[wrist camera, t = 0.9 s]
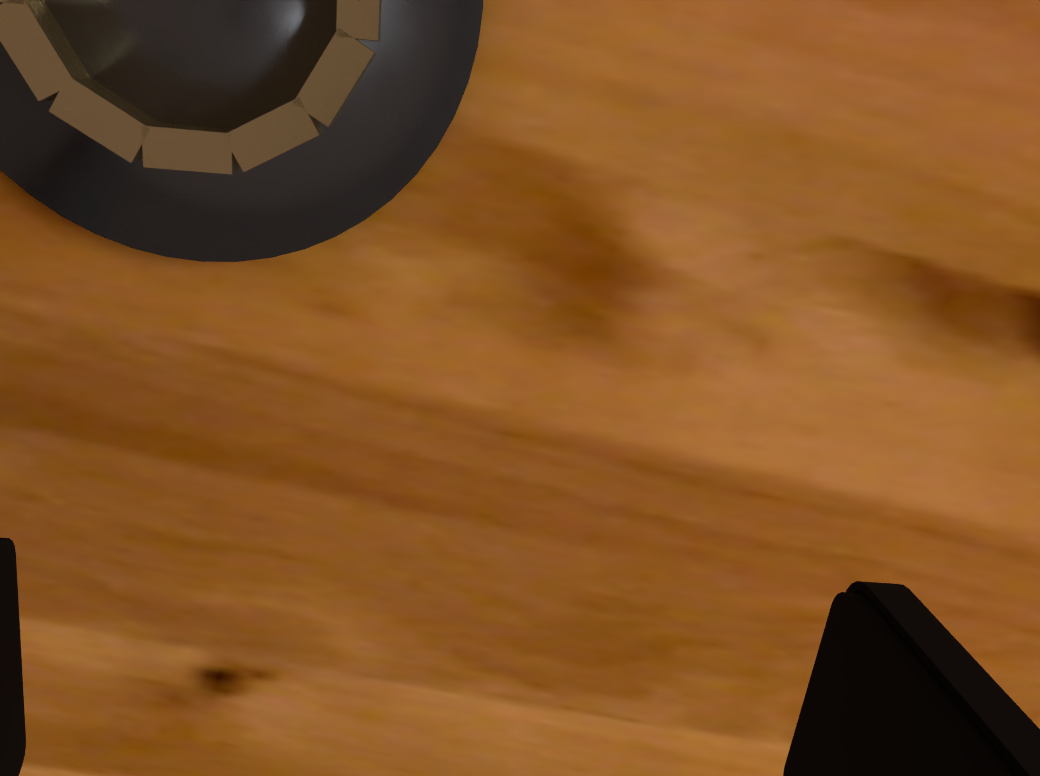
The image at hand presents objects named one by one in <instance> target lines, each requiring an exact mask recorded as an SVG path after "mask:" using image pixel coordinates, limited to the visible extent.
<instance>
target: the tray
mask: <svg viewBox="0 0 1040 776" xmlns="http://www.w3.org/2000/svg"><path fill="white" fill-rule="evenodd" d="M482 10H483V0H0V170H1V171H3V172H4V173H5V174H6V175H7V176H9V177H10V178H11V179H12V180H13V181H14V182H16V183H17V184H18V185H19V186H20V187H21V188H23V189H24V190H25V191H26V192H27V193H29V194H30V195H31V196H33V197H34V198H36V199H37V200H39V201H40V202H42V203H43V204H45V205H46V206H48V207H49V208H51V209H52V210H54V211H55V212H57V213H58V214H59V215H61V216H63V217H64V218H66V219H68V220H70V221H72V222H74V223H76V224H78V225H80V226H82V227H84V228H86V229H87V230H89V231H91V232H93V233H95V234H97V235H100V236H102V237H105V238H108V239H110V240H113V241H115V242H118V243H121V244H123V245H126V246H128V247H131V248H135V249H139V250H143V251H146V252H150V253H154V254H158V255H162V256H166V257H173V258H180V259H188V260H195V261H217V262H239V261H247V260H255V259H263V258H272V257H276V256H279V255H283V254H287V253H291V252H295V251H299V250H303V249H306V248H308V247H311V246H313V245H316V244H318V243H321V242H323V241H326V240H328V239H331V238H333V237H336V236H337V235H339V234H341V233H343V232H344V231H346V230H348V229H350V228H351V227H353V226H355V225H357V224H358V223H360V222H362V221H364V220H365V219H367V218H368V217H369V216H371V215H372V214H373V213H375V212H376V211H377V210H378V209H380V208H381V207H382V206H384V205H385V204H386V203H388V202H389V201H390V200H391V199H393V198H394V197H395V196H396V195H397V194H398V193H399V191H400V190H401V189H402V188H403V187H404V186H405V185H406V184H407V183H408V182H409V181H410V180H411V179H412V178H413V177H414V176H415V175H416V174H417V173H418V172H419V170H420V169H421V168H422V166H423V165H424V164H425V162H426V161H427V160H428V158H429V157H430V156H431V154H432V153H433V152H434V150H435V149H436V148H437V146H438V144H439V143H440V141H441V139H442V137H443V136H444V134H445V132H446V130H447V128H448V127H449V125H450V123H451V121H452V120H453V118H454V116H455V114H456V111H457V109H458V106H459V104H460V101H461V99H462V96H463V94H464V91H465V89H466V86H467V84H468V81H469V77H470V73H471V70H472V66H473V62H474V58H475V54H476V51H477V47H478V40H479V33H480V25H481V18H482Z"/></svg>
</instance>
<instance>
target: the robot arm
mask: <svg viewBox="0 0 1040 776" xmlns="http://www.w3.org/2000/svg"><path fill="white" fill-rule="evenodd" d="M25 748H26V733H25V715H24V696H23V678H22V660H21V641H20V623H19V605H18V586H17V568H16V552H15V546H14V543H13V541H12V540H11V539H10V538H0V776H18V775H19V773H20V770H21V767H22V764H23V760H24V755H25ZM783 776H1040V729H1039V728H1038V727H1037V726H1036V725H1035V724H1034V723H1033V722H1032V720H1031V719H1030V718H1029V717H1028V716H1027V715H1026V714H1025V713H1024V712H1023V711H1022V710H1021V709H1020V708H1019V706H1018V705H1017V704H1016V703H1015V702H1014V701H1013V700H1012V699H1011V698H1010V697H1009V696H1008V695H1007V694H1006V693H1005V691H1004V690H1003V689H1002V688H1001V687H1000V686H999V685H998V684H997V683H996V682H995V681H994V680H993V679H992V677H991V676H990V675H989V674H988V673H987V672H986V671H985V670H984V669H983V668H982V667H981V666H980V665H979V664H978V662H977V661H976V660H975V659H974V658H973V657H972V656H971V655H970V654H969V653H968V652H967V651H966V650H965V648H964V647H963V646H962V645H961V644H960V643H959V642H958V641H957V640H956V639H955V638H954V637H953V636H952V635H951V633H950V632H949V631H948V630H947V629H946V628H945V627H944V626H943V625H942V624H941V623H940V622H939V621H938V620H937V618H936V617H935V616H934V615H933V614H932V613H931V612H930V611H929V610H928V609H927V608H926V607H925V606H924V604H923V603H922V602H921V601H920V600H919V599H918V598H917V597H916V596H915V595H914V594H913V593H912V592H911V591H910V589H908V588H907V587H906V586H904V585H900V584H890V583H875V582H860V581H857V582H854V583H852V584H851V585H850V586H849V587H848V589H847V590H846V592H841V593H839V594H837V595H836V597H835V598H834V600H833V602H832V605H831V608H830V612H829V615H828V619H827V622H826V626H825V629H824V633H823V636H822V639H821V643H820V646H819V650H818V653H817V657H816V660H815V664H814V667H813V670H812V674H811V677H810V681H809V684H808V688H807V691H806V695H805V698H804V702H803V705H802V708H801V712H800V715H799V719H798V722H797V726H796V729H795V733H794V736H793V739H792V743H791V746H790V750H789V753H788V757H787V760H786V764H785V768H784V774H783Z"/></svg>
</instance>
